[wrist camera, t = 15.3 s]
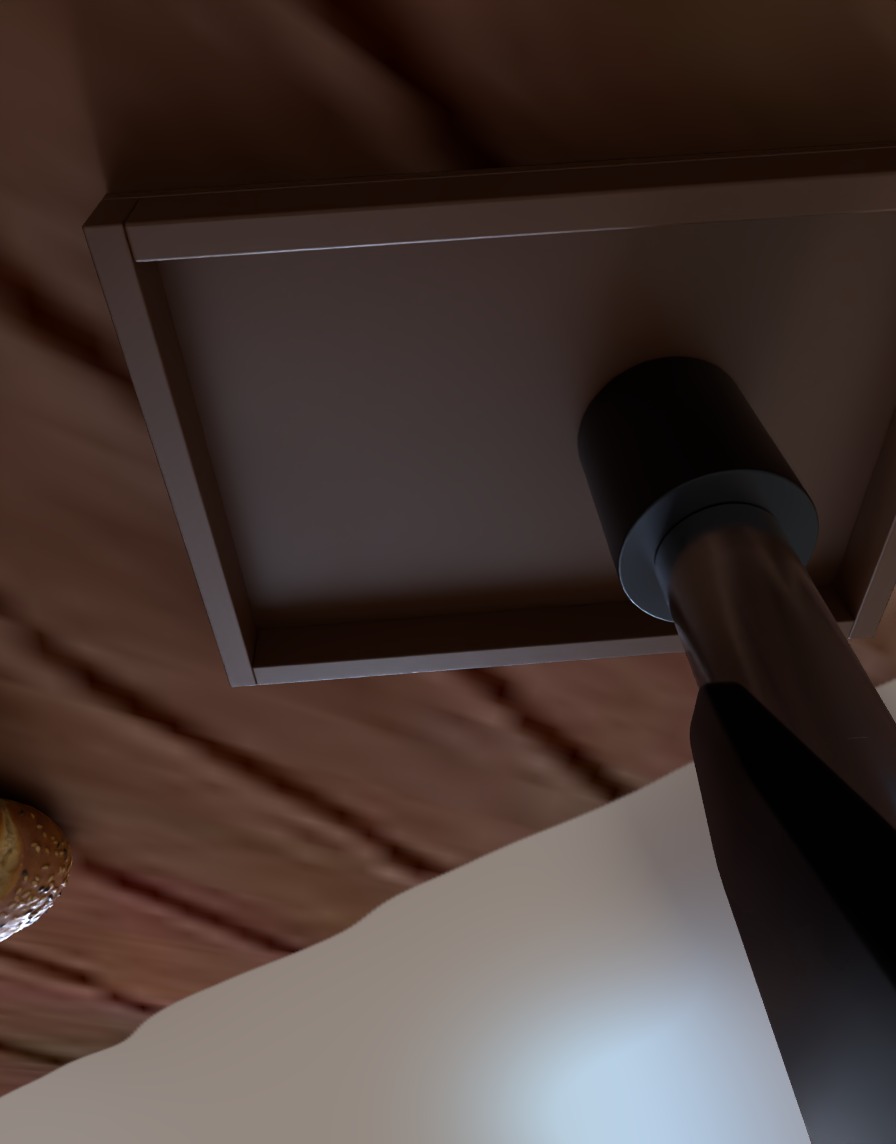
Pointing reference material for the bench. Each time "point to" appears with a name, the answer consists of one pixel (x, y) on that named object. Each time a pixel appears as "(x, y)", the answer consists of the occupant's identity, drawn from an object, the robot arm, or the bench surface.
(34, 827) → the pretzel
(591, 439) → the dark cylinder
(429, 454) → the tray
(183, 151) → the bench surface
